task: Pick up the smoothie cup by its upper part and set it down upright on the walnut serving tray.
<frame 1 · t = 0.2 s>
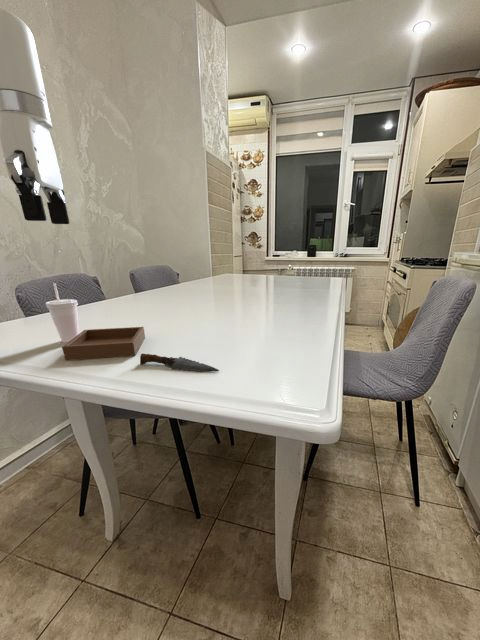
hand: (49, 222, 56), 26 cm above the table, tool pointing down, fingers open, 9 cm apart
smoothie: (71, 341, 72), on the table
tray: (109, 348, 67), on the table
knife: (179, 367, 57), on the table
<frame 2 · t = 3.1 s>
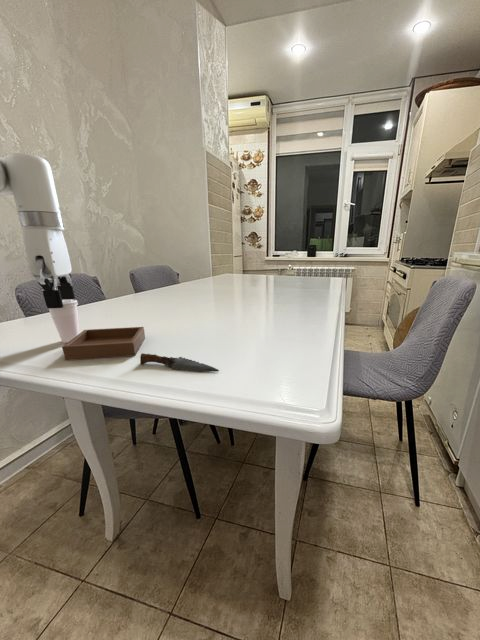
hand: (62, 304, 69), 9 cm above the table, tool pointing down, fingers closed on smoothie, 6 cm apart
smoothie: (71, 341, 72), on the table, touching gripper
everything else where it was.
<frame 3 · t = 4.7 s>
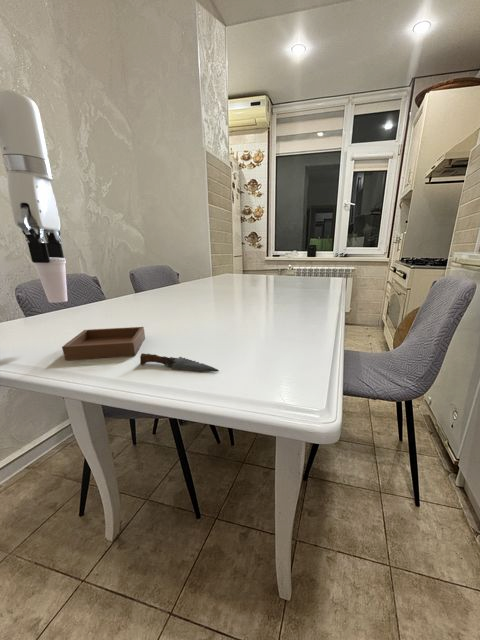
hand: (49, 260, 65), 19 cm above the table, tool pointing down, fingers closed on smoothie, 6 cm apart
smoothie: (58, 302, 68), point 10 cm above the table, touching gripper
everything else where it was.
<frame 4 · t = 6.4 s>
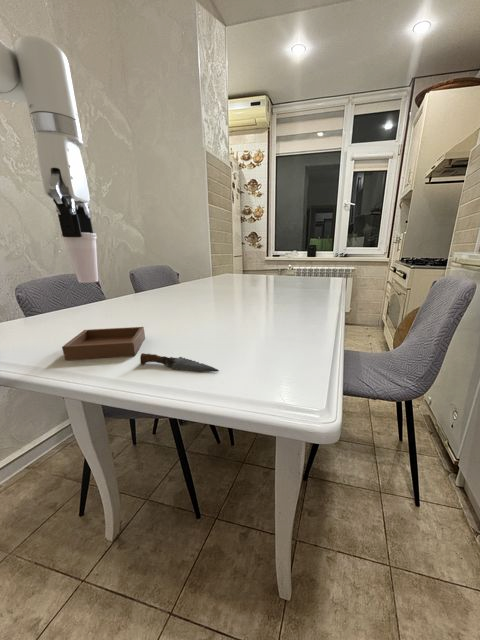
hand: (79, 236, 59), 24 cm above the table, tool pointing down, fingers closed on smoothie, 6 cm apart
smoothie: (88, 282, 63), point 15 cm above the table, touching gripper
everything else where it was.
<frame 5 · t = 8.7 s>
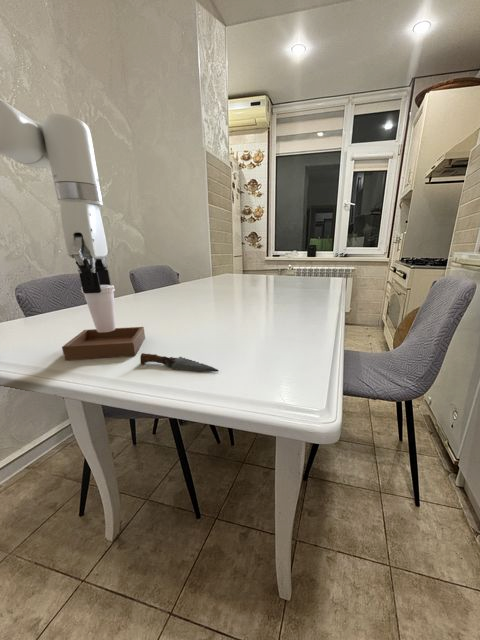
hand: (98, 289, 62), 13 cm above the table, tool pointing down, fingers closed on smoothie, 6 cm apart
smoothie: (106, 330, 65), point 4 cm above the table, touching gripper
everything else where it was.
when the fingers open (10 cm above the table, at t = 10.1 s): smoothie stays where it is, resting on tray.
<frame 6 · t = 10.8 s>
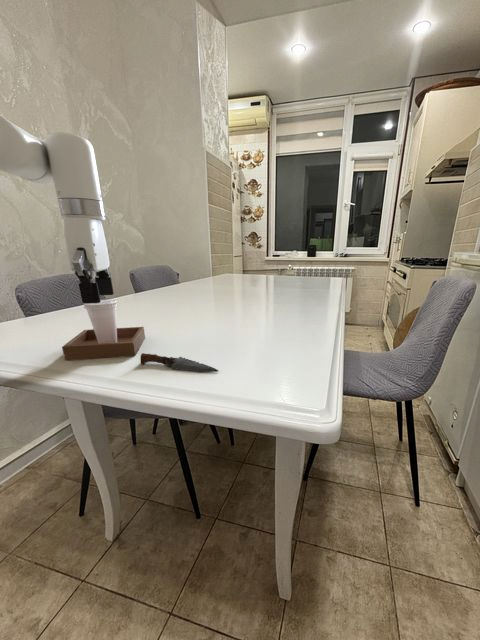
hand: (99, 298, 63), 11 cm above the table, tool pointing down, fingers open, 9 cm apart
smoothie: (108, 344, 66), point 1 cm above the table, touching tray
everything else where it was.
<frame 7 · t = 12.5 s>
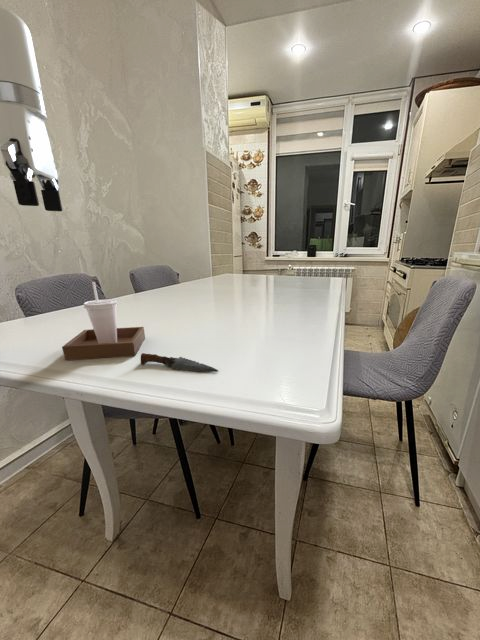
hand: (42, 208, 59), 29 cm above the table, tool pointing down, fingers open, 9 cm apart
nothing on the table moved.
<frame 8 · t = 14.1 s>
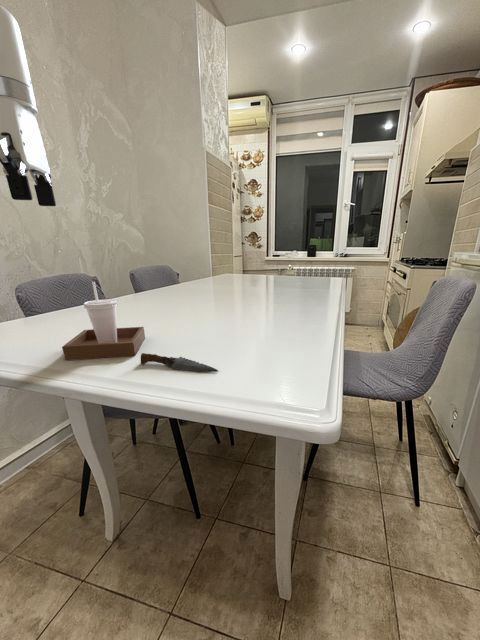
hand: (36, 203, 59), 30 cm above the table, tool pointing down, fingers open, 9 cm apart
nothing on the table moved.
at the end: smoothie inside the target area in the tray (0.1 cm from its centre), point 0.8 cm above the tray's base; smoothie tilted 0°; the gripper is holding nothing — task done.
